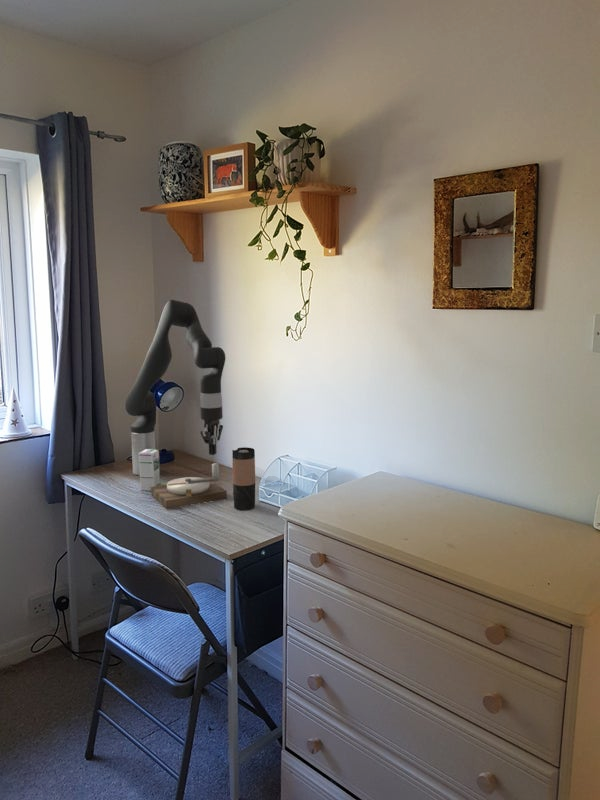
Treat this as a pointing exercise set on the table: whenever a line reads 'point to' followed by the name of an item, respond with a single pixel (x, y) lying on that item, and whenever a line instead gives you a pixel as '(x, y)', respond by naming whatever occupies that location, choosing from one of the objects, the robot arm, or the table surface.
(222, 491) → the dial stand
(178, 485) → the dial
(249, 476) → the travel mug
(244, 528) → the table surface
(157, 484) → the syrup box
